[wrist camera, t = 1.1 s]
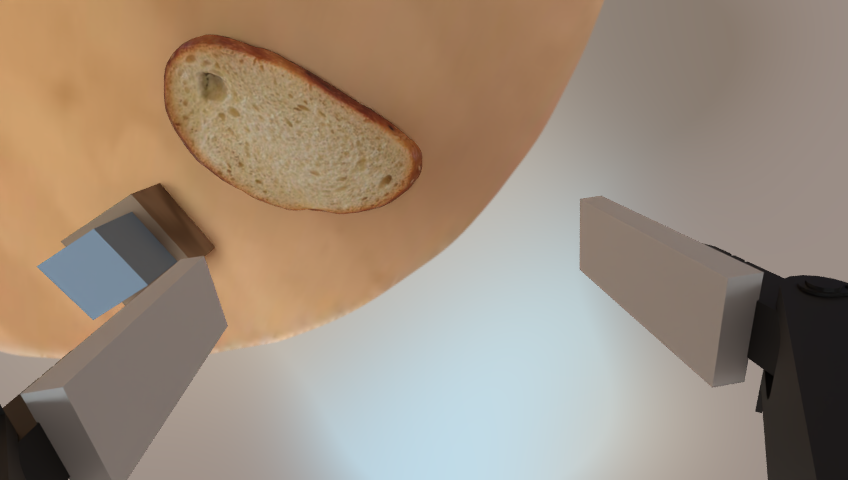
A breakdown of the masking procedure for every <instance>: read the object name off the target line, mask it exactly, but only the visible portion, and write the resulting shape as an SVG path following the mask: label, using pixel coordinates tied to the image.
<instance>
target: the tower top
mask: <svg viewBox="0 0 848 480" xmlns="http://www.w3.org/2000/svg"><path fill="white" fill-rule="evenodd" d="M176 262H177V261H176V259H175V258H174V257H173V256H172V255H171V254H170V253H169V252H168V251H167V250H166V248H165V247H164V246H163V245H162V244H161V243H160V242H159V241H158V240H157V239H156V238H155V236H154V235H153V234H152V233H151V232H150V231H149V230H148V229H147V228H146V227H145V225H144V224H143V223H142V222H141V221H140V220H139V219H138V218H137V217H136V216H135V215H134V213H133V212H130V213H128V214H125V215H123V216H121V217H119V218H116V219H114V220H112V221H110V222H107V223H105V224H103V225H101V226H99V227H96V228H94V229H92V230H91V231H89V232H88V233H86V234H85V235H83V236H82V237H80V238H79V239H77V240H76V241H74V242H73V243H71V244H70V245H68V246H67V247H65V248H64V249H62V250H61V251H59V252H58V253H56V254H55V255H53V256H52V257H50V258H49V259H47V260H46V261H44V262H43V263H41V264H40V265H38V266H37V267H38V268H39V269H40V270H41V271H42V272H43V273H44V274H45V275H46V276H47V277H48V278H49V279H50V280H51V281H52V282H53V283H55V284H56V285H57V286H58V287H59V288H60V289H61V290H62V291H63V292H64V293H65V294H66V295H67V296H68V297H69V298H70V299H71V300H73V301H74V302H75V303H76V304H77V305H78V306H79V307H80V308H81V309H82V310H83V311H84V312H85V313H86V314H87V315H88V316H89V317H91V318H92V319H93V320H94V319H96V318H97V317H99V316H100V315H102V314H104V313H105V312H107V311H108V310H110V309H111V308H113V307H114V306H116V305H118V304H119V303H121V302H122V301H124V300H125V299H127V298H129V297H130V296H132V295H133V294H135V293H136V292H138V291H139V290H141V289H143V288H144V287H146V286H147V285H149V284H150V283H151V282H152V281H154V280H155V279H156V278H157V277H159V276H160V275H161V274H163V273H164V272H165V271H166V270H168V269H169V268H170V267H171V266H173V265H174V264H175V263H176Z"/></svg>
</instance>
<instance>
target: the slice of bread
mask: <svg viewBox="0 0 848 480" xmlns="http://www.w3.org/2000/svg"><path fill="white" fill-rule="evenodd" d="M164 99H165V108H166V112H167V114H168V117H169V119H170V121H171V124H172V126H173V127H174V129H175V131H176V133H177V134H178V136H179V137H180V138H181V140H182V142H183V143H184V145H185V146H186V147H187V149H188V150H189V151H190V153H191V154H192V155H193V156H194V158H195V159H196V160H197V161H198V162H199V163H201V164H202V165H204V166H205V167H206V168H208V169H209V170H210V171H211V172H213V173H214V174H215V175H216V176H218V177H219V178H220V179H222V180H223V181H225V182H227V183H229V184H230V185H232V186H234V187H236V188H238V189H240V190H242V191H244V192H245V193H247V194H248V195H250V196H251V197H253V198H255V199H258V200H261V201H264V202H266V203H269V204H271V205H274V206H278V207H282V208H285V209H288V210H303V209H308V210H316V211H324V212H331V213H336V214H347V213H356V212H362V211H366V210H370V209H374V208H378V207H382V206H384V205H386V204H388V203H390V202H392V201H393V200H395V199H396V198H398V197H399V196H400V195H402V194H403V193H404V192H405V191H407V190H408V189H409V188H410V187H411V186H412V184H413V183H414V182H415V180H416V179H417V178H418V177H419V175H420V172H421V169H422V154H421V150H420V149H419V147H418V146H417V145H416V143H415V142H414V141H413V140H411V139H409V138H408V137H407V136H406V135H405V134H404V133H403V132H401V131H400V130H399V129H398V128H397V127H395V126H394V125H393V124H392V123H390V122H389V121H387V120H386V119H384V118H383V117H381V116H380V115H378V114H377V113H375V112H374V111H372V110H371V109H369V108H367V107H365V106H363V105H361V104H360V103H358V102H356V101H355V100H353V99H352V98H350V97H349V96H347V95H345V94H344V93H342V92H341V91H339V90H337V89H336V88H334V87H333V86H331V85H329V84H328V83H326V82H325V81H323V80H322V79H320V78H319V77H317V76H315V75H314V74H312V73H310V72H309V71H307V70H305V69H303V68H301V67H300V66H298V65H296V64H294V63H292V62H290V61H288V60H286V59H284V58H283V57H281V56H279V55H278V54H275V53H273V52H271V51H269V50H266V49H263V48H257V47H253V46H250V45H248V44H245V43H243V42H240V41H237V40H234V39H231V38H227V37H223V36H218V35H204V36H200V37H196V38H193V39H191V40H189V41H187V42H186V43H184V44H183V45H181V46H180V47H179V48H178V49H177V50H176V51H175V52H174V53H173V54H172V56H171V58H170V59H169V61H168V62H167V65H166V68H165V75H164Z"/></svg>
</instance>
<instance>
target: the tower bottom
mask: <svg viewBox="0 0 848 480" xmlns="http://www.w3.org/2000/svg"><path fill="white" fill-rule="evenodd" d="M130 212H133V213H134V215H135V216H136V217H137V218H138V219H139V220H140V221H141V222H142V223H143V224H144V225H145V227H146V228H147V229H148V230H149V231H150V232H151V233H152V234H153V235H154V236H155V238H156V239H157V240H158V241H159V242H160V243H161V244H162V245H163V246H164V247H165V248H166V250H167V251H168V252H169V253H170V254H171V255H172V256H173V257H174V258H175V259H176V261H177V262H178V261H179V260H181V259H186V258H192V257H199V256H205V255H207V254H208V253H209V252H210V251H211V250H212V249H213V248H214V246H213V244H212V243H211V242H210V241H209V240H208V239H207V237H206V236H205V235H204V234H203V233H202V232H201V230H200V229H199V228H198V227H197V226H196V225H195V224H194V222H193V221H192V220H191V219H190V218H189V217H188V215H187V214H186V213H185V212H184V211H183V210H182V208H181V207H180V206H179V205H178V204H177V203H176V202H175V200H174V199H173V198H172V197H171V196H170V195H169V193H168V192H167V191H166V190H165V189H164V188H163V187H162V185H161V184H160V183H159V184H157V185H154V186H151V187H149V188H146V189H144V190H141V191H138V192H136V193H133V194H131V195H129V196H128V197H126V198H125V199H123V200H122V201H120V202H119V203H117V204H116V205H114V206H113V207H111V208H110V209H108V210H107V211H105V212H104V213H102V214H101V215H99V216H98V217H96V218H95V219H93V220H92V221H90V222H89V223H88V224H86V225H85V226H83V227H82V228H80V229H79V230H77V231H76V232H74V233H73V234H71V235H70V236H68V237H67V238H65V239H64V240H62V241H61V242H62V243H63V244H64V245H65V246H66V247H67V246H68V245H70V244H71V243H73V242H74V241H76V240H77V239H79V238H80V237H82V236H83V235H85V234H86V233H88V232H89V231H91V230H92V229H94V228H96V227H99V226H101V225H103V224H105V223H107V222H110V221H112V220H114V219H116V218H119V217H121V216H123V215H125V214H128V213H130ZM177 262H176V263H177ZM176 263H175V264H176ZM175 264H174V265H175ZM174 265H173V266H174ZM171 267H172V266H171ZM171 267H170V268H171ZM170 268H169V269H170ZM169 269H168V270H169ZM168 270H166V271H168ZM166 271H165V272H166ZM165 272H164V273H165ZM164 273H163V274H164ZM163 274H161V275H160V276H162V275H163ZM160 276H159V277H160ZM159 277H157V278H156V279H155V280H154V281H156V280H157V279H158V278H159ZM154 281H152V282H151V283H150V284H149V285H147V286H146V287H144V288H143V289H141V290H139V291H138V292H136V293H135V294H133V295H132V296H130V297H129V298H127V299H125V300H124V301H122V303H123V304H124V305H125V306H126V305H127V304H128V303H129V302H131V301H132V300H133V299H134V298H135V297H137V296H138V295H139V294H140V293H141V292H143V291H144V290H145V289H146V288H147V287H148V286H150V285H151V284H152V283H153V282H154Z"/></svg>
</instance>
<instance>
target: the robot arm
mask: <svg viewBox="0 0 848 480" xmlns="http://www.w3.org/2000/svg"><path fill="white" fill-rule="evenodd" d="M580 270H581V271H582V272H583V273H584V274H585V275H586V276H588V277H589V278H590V279H591V280H592V281H593V282H594V283H595V284H597V285H598V286H599V287H600V288H601V289H602V290H603V291H604V292H606V293H607V294H608V295H609V296H610V297H611V298H612V299H613V300H615V301H616V302H617V303H618V304H619V305H620V306H621V307H622V308H624V309H625V310H626V311H627V312H628V313H629V314H630V315H631V316H633V317H634V318H635V319H636V320H637V321H638V322H639V323H640V324H642V325H643V326H644V327H645V328H646V329H647V330H648V331H649V332H650V333H652V334H653V335H654V336H655V337H656V338H657V339H658V340H659V341H661V342H662V343H663V344H664V345H665V346H666V347H667V348H668V349H670V350H671V351H672V352H673V353H674V354H675V355H676V356H677V357H679V358H680V359H681V360H682V361H683V362H684V363H685V364H687V365H688V366H689V367H690V368H691V369H692V370H693V371H694V372H696V373H697V374H698V375H699V376H700V377H701V378H702V379H703V380H704V381H706V382H707V383H708V384H709V385H710V386H711V387H718V386H724V385H729V384H734V383H741V382H744V381H745V375H746V370H747V364H748V358H749V359H750V360H752V361H753V362H754V363H756V364H757V365H759V366H760V367H761V368H763V369H764V370H763V375H762V380H761V385H760V390H759V396H758V400H757V406H756V412H760V413H762V411H763V421H764V433H765V447H766V460H767V474H768V480H848V283H846V282H843V281H839V280H836V279H831V278H826V277H820V276H807V275H800V276H790V277H788V278H785V279H784V278H782V277H780V276H778V275H776V274H773V273H771V272H769V271H767V270H765V269H763V268H760V267H758V266H756V265H754V264H752V263H750V262H745V261H744V260H743V259H741V258H739V257H736V256H732V255H731V254H730V253H728V252H726V251H724V250H721V249H719V248H717V247H715V246H710V245H707V244H703V243H700V242H698V241H696V240H694V239H692V238H690V237H688V236H685V235H683V234H681V233H679V232H677V231H675V230H673V229H671V228H668V227H666V226H664V225H662V224H659V223H658V222H656V221H653V220H651V219H649V218H647V217H645V216H643V215H641V214H639V213H636V212H634V211H632V210H630V209H628V208H626V207H624V206H621V205H619V204H617V203H615V202H613V201H611V200H609V199H607V198H605V197H602V196H597V197H591V198H584V199H580ZM227 326H228V325H227V322H226V319H225V316H224V313H223V310H222V307H221V304H220V301H219V298H218V296H217V293H216V290H215V287H214V284H213V281H212V278H211V275H210V272H209V269H208V266H207V263H206V260H205V257H204V256H199V257H192V258H186V259H181V260H179V261H178V262H177V263H176V264H175V265H174V266H172V267H171V268H170V269H169V270H168V271H166V272H165V273H164V274H163V275H162V276H160V277H159V278H158V279H157V280H156V281H154V282H153V283H152V284H151V285H150V286H148V287H147V288H146V289H145V290H144V291H143V292H141V293H140V294H139V295H138V296H137V297H135V298H134V299H133V300H132V301H131V302H129V303H128V304H127V305H126V306H125V307H123V308H122V309H121V310H120V311H119V312H117V313H116V314H115V315H114V316H113V317H112V318H110V319H109V320H108V321H107V322H106V323H104V324H103V325H102V326H101V327H100V328H98V329H97V330H96V331H95V332H94V333H92V334H91V335H90V336H89V337H88V338H86V339H85V340H84V341H83V342H82V343H81V344H79V345H78V346H77V347H76V348H75V349H73V350H72V351H70V352H69V353H68V354H67V355H66V356H64V357H63V358H62V359H61V360H60V361H58V362H57V363H56V364H55V365H54V366H53V367H51V368H50V369H49V370H48V371H47V372H45V373H44V374H43V375H42V376H41V377H40V378H38V379H37V380H36V381H35V382H33V383H32V384H31V385H30V386H29V387H27V388H26V389H25V390H24V391H23V392H21V393H20V394H19V395H18V396H17V397H15V398H14V399H13V400H12V401H11V402H9V403H8V404H7V405H6V406H5V407H3V408H2V407H1V405H0V480H68V479H70V480H127V479H128V478H129V476H130V474H131V473H132V471H133V470H134V468H135V467H136V465H137V464H138V462H139V461H140V459H141V457H142V456H143V455H144V453H145V451H146V450H147V448H148V447H149V445H150V444H151V442H152V441H153V439H154V438H155V436H156V435H157V433H158V431H159V430H160V429H161V427H162V425H163V424H164V422H165V421H166V419H167V418H168V416H169V415H170V413H171V412H172V410H173V409H174V407H175V406H176V404H177V402H178V401H179V399H180V398H181V396H182V395H183V393H184V392H185V390H186V389H187V387H188V386H189V384H190V383H191V381H192V380H193V378H194V376H195V375H196V373H197V372H198V370H199V369H200V367H201V366H202V364H203V363H204V361H205V360H206V358H207V357H208V355H209V354H210V352H211V350H212V349H213V347H214V346H215V344H216V343H217V341H218V340H219V338H220V337H221V335H222V334H223V332H224V331H225V329H226V328H227Z"/></svg>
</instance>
